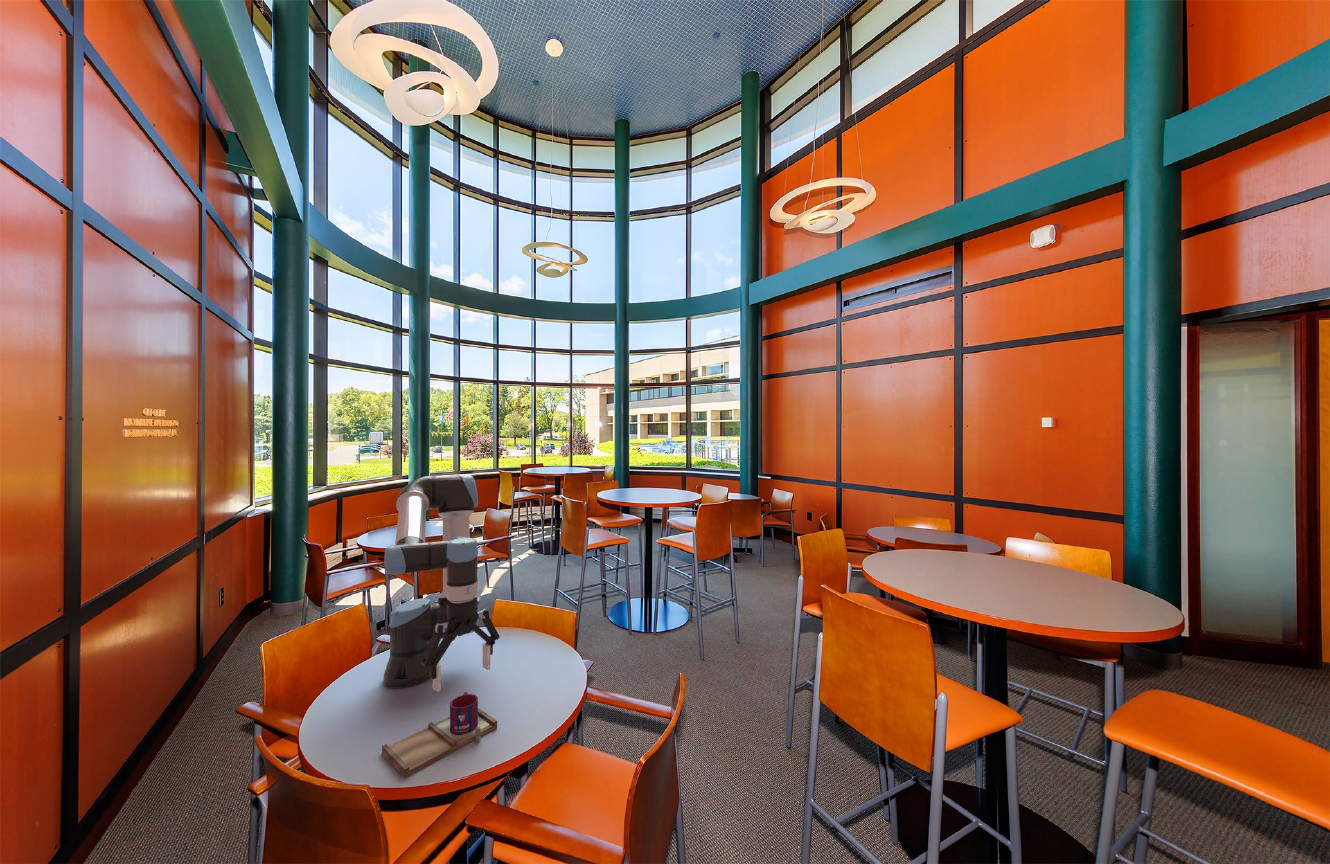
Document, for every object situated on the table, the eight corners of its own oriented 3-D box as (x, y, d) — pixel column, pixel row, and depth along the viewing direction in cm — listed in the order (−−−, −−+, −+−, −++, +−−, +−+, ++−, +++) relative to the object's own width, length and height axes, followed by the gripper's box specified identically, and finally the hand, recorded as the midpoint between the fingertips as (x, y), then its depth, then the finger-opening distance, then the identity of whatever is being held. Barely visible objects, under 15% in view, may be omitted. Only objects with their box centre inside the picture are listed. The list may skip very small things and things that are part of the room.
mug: (447, 736, 117) (447, 709, 117) (455, 714, 127) (455, 689, 127) (475, 732, 118) (475, 706, 119) (481, 710, 128) (481, 685, 128)
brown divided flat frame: (381, 753, 113) (381, 740, 113) (471, 709, 131) (471, 698, 131) (407, 780, 104) (407, 766, 104) (500, 729, 121) (500, 718, 122)
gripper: (419, 616, 110) (420, 705, 110) (512, 588, 130) (512, 664, 130) (406, 609, 115) (406, 694, 115) (497, 583, 134) (497, 655, 135)
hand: (462, 678), depth 123 cm, fingers open, 13 cm apart
